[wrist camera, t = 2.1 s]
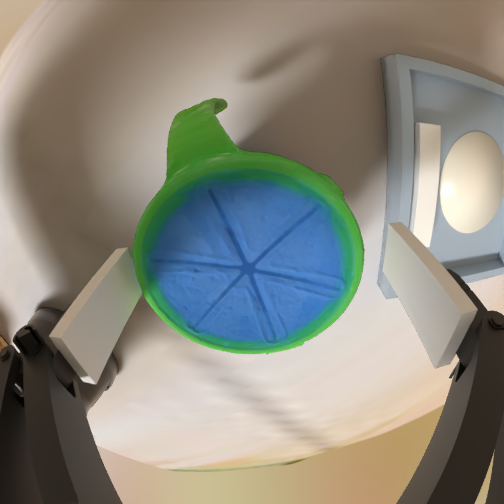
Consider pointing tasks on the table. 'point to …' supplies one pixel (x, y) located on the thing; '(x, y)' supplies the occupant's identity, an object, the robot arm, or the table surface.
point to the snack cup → (244, 243)
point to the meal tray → (445, 164)
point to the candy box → (2, 343)
